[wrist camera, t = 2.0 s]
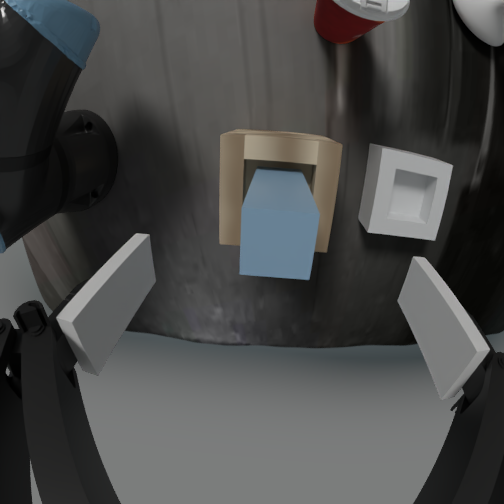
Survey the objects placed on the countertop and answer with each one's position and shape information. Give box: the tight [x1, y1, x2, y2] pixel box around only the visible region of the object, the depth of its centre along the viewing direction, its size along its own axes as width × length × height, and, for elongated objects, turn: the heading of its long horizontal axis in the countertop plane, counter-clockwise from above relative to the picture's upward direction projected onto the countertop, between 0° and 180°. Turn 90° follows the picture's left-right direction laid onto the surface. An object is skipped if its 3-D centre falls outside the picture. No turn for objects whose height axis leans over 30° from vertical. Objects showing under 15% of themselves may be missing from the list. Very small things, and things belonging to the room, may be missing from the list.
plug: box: [240, 166, 320, 280], centre depth 20 cm, size 4×5×12 cm
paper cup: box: [314, 0, 410, 44], centre depth 17 cm, size 8×8×14 cm
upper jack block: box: [220, 129, 342, 253], centre depth 28 cm, size 10×10×10 cm
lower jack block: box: [358, 143, 453, 241], centre depth 30 cm, size 10×10×4 cm
